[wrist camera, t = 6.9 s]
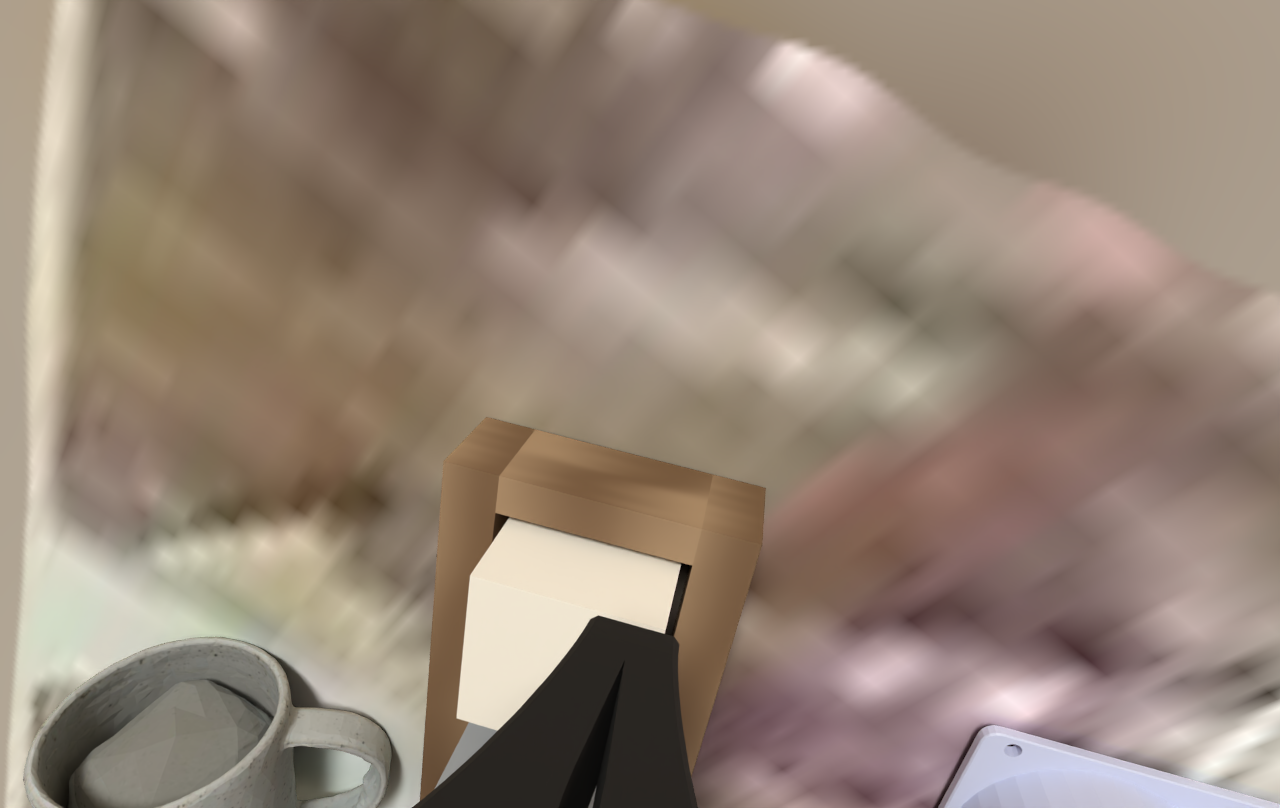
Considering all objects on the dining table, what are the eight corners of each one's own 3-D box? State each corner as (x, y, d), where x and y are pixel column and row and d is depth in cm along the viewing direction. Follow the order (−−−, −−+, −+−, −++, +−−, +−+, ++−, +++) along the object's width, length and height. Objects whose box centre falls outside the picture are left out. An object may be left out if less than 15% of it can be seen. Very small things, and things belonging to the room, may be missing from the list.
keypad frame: (765, 488, 21) (762, 544, 18) (617, 989, 32) (601, 1070, 30) (486, 417, 22) (443, 461, 19) (437, 929, 33) (406, 1002, 30)
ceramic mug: (184, 758, 32) (19, 941, 25) (155, 616, 29) (-45, 782, 22) (405, 815, 31) (297, 1024, 24) (402, 674, 27) (275, 870, 20)
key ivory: (687, 538, 21) (665, 630, 17) (655, 664, 23) (630, 770, 19) (524, 494, 21) (469, 575, 18) (508, 622, 23) (456, 718, 20)
